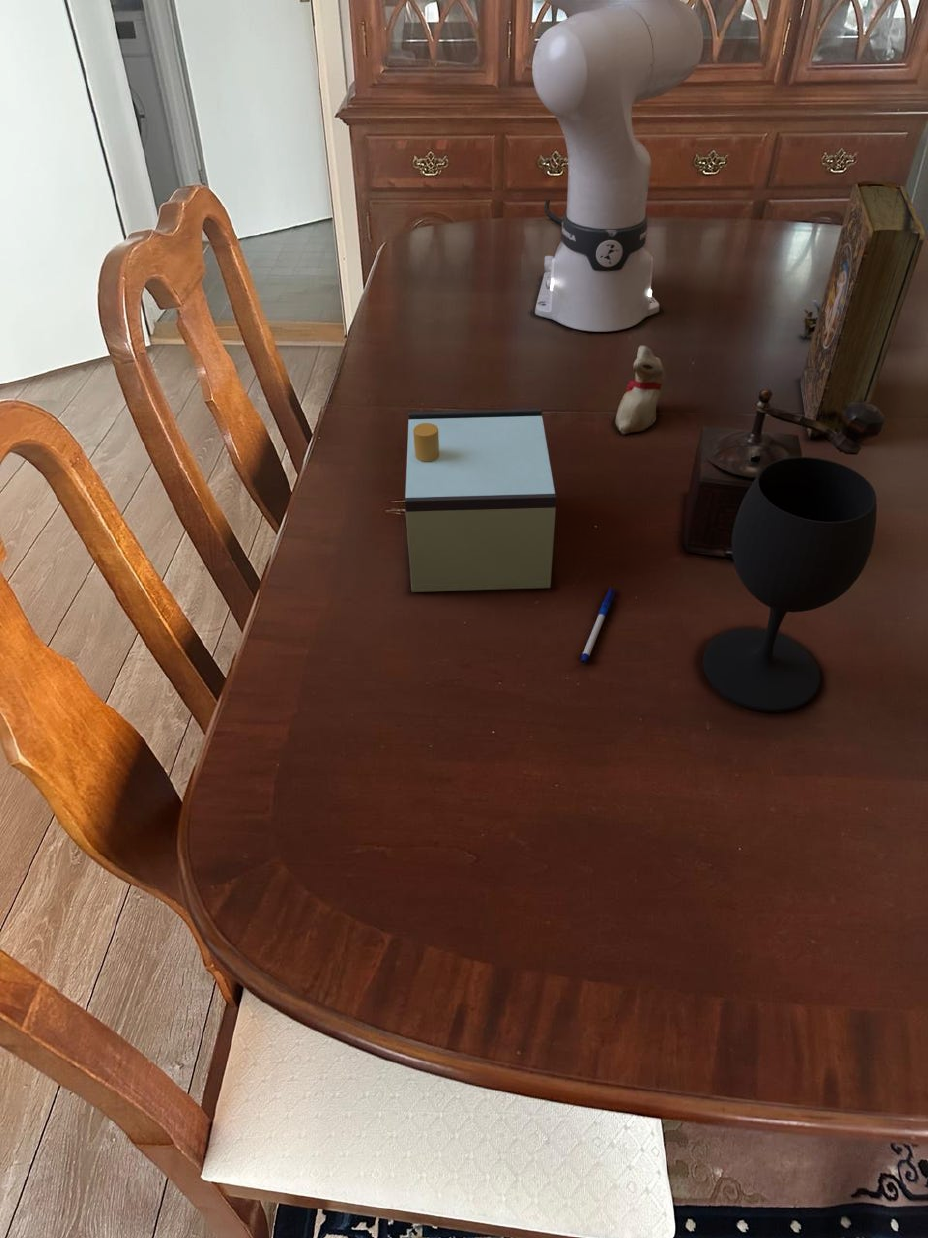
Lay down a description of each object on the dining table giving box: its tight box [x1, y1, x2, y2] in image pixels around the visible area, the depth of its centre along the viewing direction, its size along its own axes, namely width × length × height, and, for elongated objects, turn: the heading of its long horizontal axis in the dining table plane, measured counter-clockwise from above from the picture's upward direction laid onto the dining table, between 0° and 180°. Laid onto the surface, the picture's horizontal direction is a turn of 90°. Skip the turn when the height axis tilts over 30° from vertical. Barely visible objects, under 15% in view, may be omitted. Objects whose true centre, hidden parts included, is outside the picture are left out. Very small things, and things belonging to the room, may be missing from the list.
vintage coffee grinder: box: [683, 388, 885, 560], centre depth 90 cm, size 16×11×18 cm
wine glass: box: [702, 456, 878, 713], centre depth 74 cm, size 10×10×20 cm
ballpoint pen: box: [581, 587, 615, 664], centre depth 85 cm, size 10×1×1 cm, turn 160°
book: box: [800, 180, 926, 439], centre depth 105 cm, size 16×6×25 cm, turn 168°
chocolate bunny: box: [614, 345, 666, 435], centre depth 110 cm, size 6×8×10 cm
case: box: [404, 407, 557, 593], centre depth 92 cm, size 16×14×11 cm
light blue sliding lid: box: [404, 415, 556, 499], centre depth 87 cm, size 14×14×4 cm
